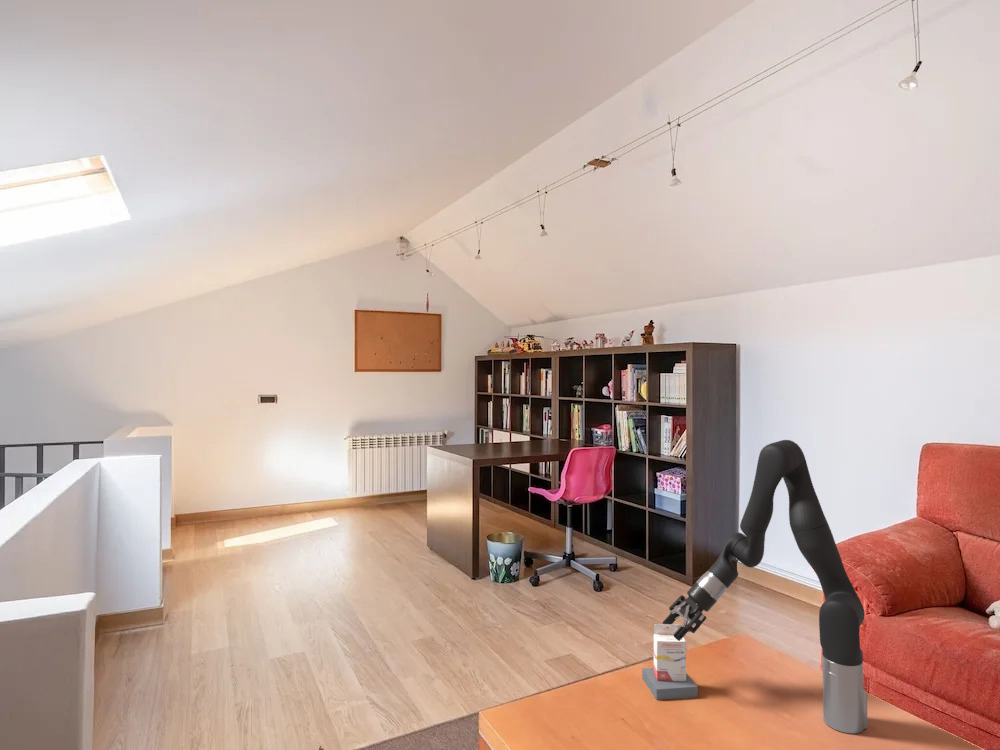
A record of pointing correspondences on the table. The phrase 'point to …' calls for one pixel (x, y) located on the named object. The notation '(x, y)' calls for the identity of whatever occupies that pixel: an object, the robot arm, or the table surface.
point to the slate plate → (669, 686)
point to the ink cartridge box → (669, 654)
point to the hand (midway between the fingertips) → (670, 632)
